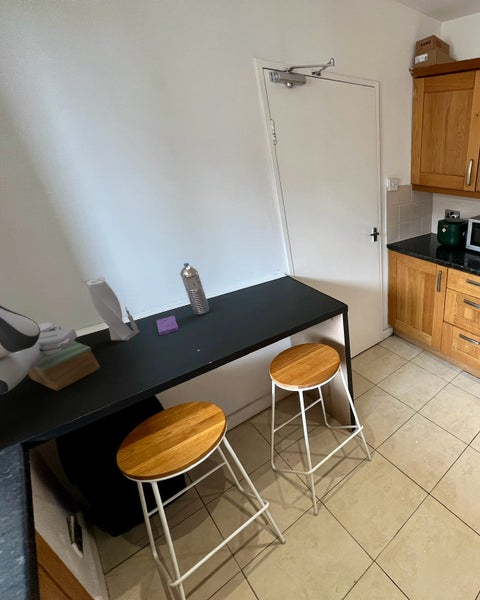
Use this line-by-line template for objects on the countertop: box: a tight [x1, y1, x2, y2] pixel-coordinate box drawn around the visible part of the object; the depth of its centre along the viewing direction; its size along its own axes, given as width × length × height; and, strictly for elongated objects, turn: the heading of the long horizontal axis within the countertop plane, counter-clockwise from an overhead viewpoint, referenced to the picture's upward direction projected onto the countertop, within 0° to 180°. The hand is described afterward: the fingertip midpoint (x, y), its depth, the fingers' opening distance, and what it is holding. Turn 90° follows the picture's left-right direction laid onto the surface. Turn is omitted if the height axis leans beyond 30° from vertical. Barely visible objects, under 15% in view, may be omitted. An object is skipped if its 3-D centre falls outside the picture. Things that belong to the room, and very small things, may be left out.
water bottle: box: [179, 262, 211, 316], centre depth 145 cm, size 7×7×25 cm
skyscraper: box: [82, 276, 141, 342], centre depth 126 cm, size 8×8×28 cm
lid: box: [35, 340, 92, 371], centre depth 107 cm, size 16×13×1 cm
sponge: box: [156, 315, 180, 336], centre depth 139 cm, size 7×13×2 cm, turn 39°
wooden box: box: [27, 348, 102, 392], centre depth 109 cm, size 16×13×9 cm
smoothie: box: [28, 316, 61, 355], centre depth 104 cm, size 6×6×14 cm
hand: (43, 331), depth 104 cm, fingers closed on smoothie, 6 cm apart
